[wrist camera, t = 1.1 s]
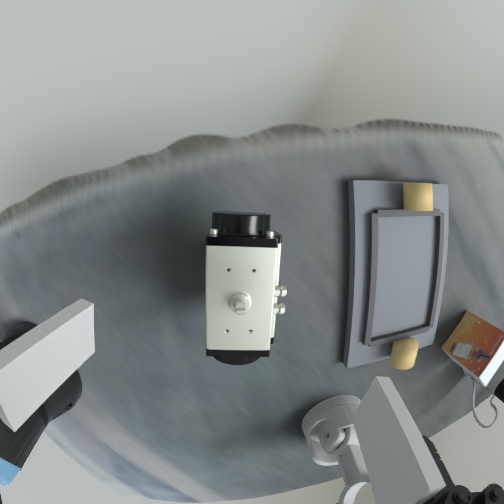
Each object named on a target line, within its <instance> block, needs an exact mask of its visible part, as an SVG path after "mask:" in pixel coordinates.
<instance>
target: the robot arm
mask: <svg viewBox="0 0 504 504" xmlns="http://www.w3.org/2000/svg"><path fill="white" fill-rule="evenodd" d="M94 352H95V343H94V304H93V303H90V302H88V301H86V300H83V299H80V300H78V301H76V302H75V303H73V304H71V305H70V306H68V307H66V308H65V309H63V310H62V311H60V312H58V313H57V314H55V315H53V316H52V317H50V318H49V319H47V320H45V321H44V322H42V323H41V324H39V325H38V326H37V325H34V324H31V323H20V324H18V325H16V326H15V327H13V328H12V329H11V330H9V332H8V333H7V334H6V336H5V338H4V340H3V341H2V343H1V342H0V484H4V485H6V484H9V483H11V482H12V480H13V479H14V477H15V476H16V475H17V473H18V472H19V471H21V468H22V467H23V465H24V463H25V461H26V459H27V457H28V456H29V454H30V452H31V451H32V449H33V447H34V445H35V444H36V442H37V441H38V439H39V437H40V435H41V434H42V432H43V431H44V429H45V427H46V426H47V425H48V423H49V422H50V421H52V420H53V419H55V418H57V417H58V416H60V415H62V414H63V413H65V412H66V411H68V410H70V409H71V408H73V407H74V405H75V404H76V402H77V401H78V399H79V398H80V396H81V392H82V383H81V379H80V375H79V373H78V370H77V369H78V368H79V367H80V366H81V365H82V364H83V363H84V362H85V361H86V360H87V359H88V358H89V357H90V356H91V355H92V354H93V353H94ZM351 418H352V421H353V424H354V428H355V431H356V434H357V438H358V441H359V444H360V448H361V451H362V454H363V458H364V461H365V465H366V468H367V472H368V476H369V479H370V483H371V487H372V490H373V494H374V498H375V502H376V504H504V491H503V489H502V487H500V486H499V485H497V484H490V485H489V486H487V487H486V488H485V489H484V490H483V491H482V492H474V493H471V492H470V491H469V490H468V489H467V488H466V487H464V486H461V485H457V486H455V485H454V484H453V482H452V480H451V478H450V476H449V474H448V472H447V470H446V468H445V466H444V464H443V462H442V460H440V459H441V458H440V456H439V454H438V453H437V450H436V448H435V446H434V445H433V443H432V442H431V441H430V440H429V439H428V438H427V437H426V436H422V435H421V433H420V432H419V430H418V428H417V426H416V424H415V422H414V420H413V419H412V417H411V415H410V413H409V411H408V409H407V408H406V406H405V404H404V402H403V400H402V399H401V397H400V395H399V393H398V392H397V390H396V388H395V386H394V385H393V383H392V381H391V380H390V378H389V377H380V376H376V377H375V379H374V381H373V382H372V384H371V386H370V388H369V390H368V391H367V393H366V395H365V396H364V398H363V400H362V401H361V403H360V405H359V406H358V408H357V409H356V411H355V412H354V414H353V416H352V417H351ZM0 504H2V500H1V495H0Z"/></svg>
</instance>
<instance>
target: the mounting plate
mask: <svg viewBox="0 0 504 504" xmlns="http://www.w3.org/2000/svg"><path fill="white" fill-rule="evenodd" d="M348 195H349V225H350V264H349V294H348V312H347V326H346V338H345V348H344V358H343V363H344V365H345V366H346V368H351V367H355V366H360V365H364V364H368V363H372V362H376V361H380V360H383V359H387V358H390V364H391V366H393V367H394V368H396V369H400V370H406V369H410V368H412V367H413V366H414V363H415V359H416V355H417V351H418V349H420V348H423V347H426V346H429V345H431V344H433V342H434V337H435V333H436V328H437V323H438V318H439V313H440V307H441V301H442V295H443V288H444V280H445V271H446V260H447V247H448V218H449V207H448V185H441V184H432V183H415V182H397V181H371V180H351V181H348Z"/></svg>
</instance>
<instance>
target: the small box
mask: <svg viewBox="0 0 504 504" xmlns="http://www.w3.org/2000/svg"><path fill="white" fill-rule="evenodd" d="M441 348H442V349H443V351H444V352H445V353H446V354H447V355H448V356H449V357H450V358H451V359H452V360H453V361H454V362H456V363H457V364H458V365H459V366H460V367H462V368H463V369H464V370H465V371H466V372H468V373H469V374H470V375H471V376H472V377H474V378H475V379H476V380H477V381H478V382H480V383H481V384H482V385H483V386H484V387H486V386H487V384H488V383H489V381H490V379H491V378H492V376H493V375H494V374H495V372H496V371H497V369H498V368H499V366H500V365H501V363H502V362H503V360H504V331H503V330H501V329H500V328H498V327H496V326H494V325H493V324H491V323H489V322H488V321H486V320H484V319H482V318H481V317H479V316H477V315H475V314H474V313H472V312H470V311H468V310H467V311H466V313H465V315H464V316H463V318H462V319H461V321H460V322H459V324H458V325H457V327H456V328H455V330H454V331H453V332H452V334H451V335H450V337H449V338H448V339H447V341H446V342H445V343H444V344H443V345H442V347H441Z"/></svg>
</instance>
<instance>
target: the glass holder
mask: <svg viewBox="0 0 504 504" xmlns="http://www.w3.org/2000/svg"><path fill="white" fill-rule="evenodd" d="M463 372H464V374H465V375H469V376H471V375H470V374H469V373H468V372H466V371H465V370H464V369H463ZM471 379H472V380H473V394H472V410H473V414H474V417H475V419H476V421H477V422H478V423H479V425H480V426H482V427H483V428H488V427H491V426H492V425H493V424H494V423H495V422H496V420H497V417H498V410H497V408H496V407H495V406H494V405H493V403H492V400H493V398H494V397H495V396H496V397H498V398H499V399H500V400H501V401H502V402H504V360H503V362H502V363H501V365H500V366H499V368H498V369H497V371H496V372H495V374H494V375H493V376H492V378H491V379H490V381H489V383H488V384H487V386H486V387H484V386H483V385H482V384H481V383H480V382H478V381H477V380H476V379H475V378H474V377H472V376H471ZM475 380H476V381H477V382H478V383H479V384H481V385H482V386H483V387H484V388H485V389H487V390H488V391H489V392H490V393H491V394H493V396H492V398H491V400H490V404H491V406H492V407H493V408H494V409H495V411H496V418H495V420H494V422H493V423H492V424H491V425H489V426H484V425H483V424H481V422H480V421H479V420H478V418H477V416H476V412H475V408H474V396H475Z"/></svg>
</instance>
